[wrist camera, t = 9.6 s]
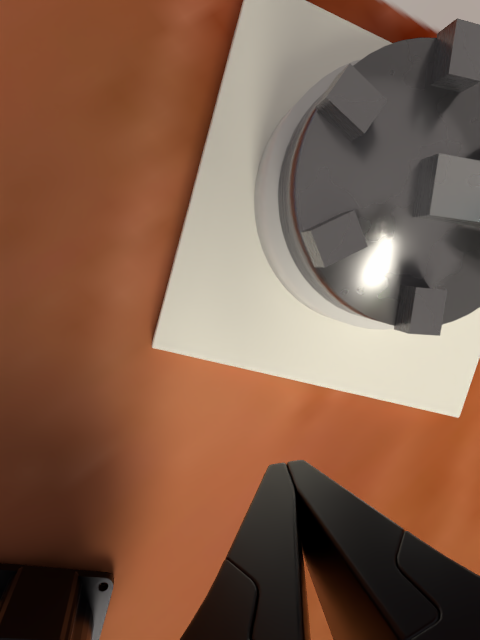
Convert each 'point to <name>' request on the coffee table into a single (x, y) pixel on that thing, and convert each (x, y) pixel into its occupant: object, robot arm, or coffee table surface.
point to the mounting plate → (232, 261)
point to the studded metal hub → (392, 184)
